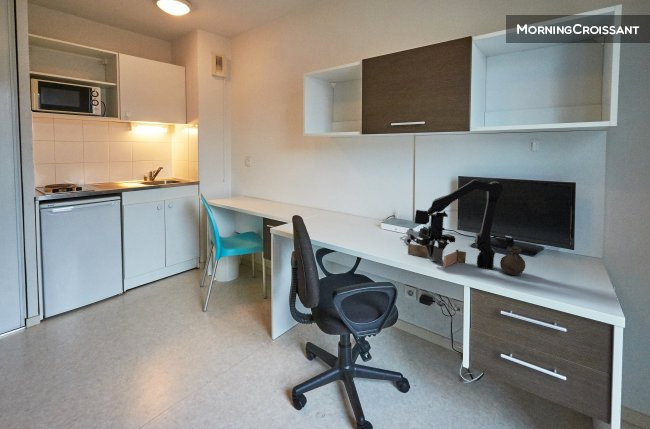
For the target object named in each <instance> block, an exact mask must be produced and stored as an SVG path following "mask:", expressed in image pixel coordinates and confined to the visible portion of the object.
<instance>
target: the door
mask: <svg viewBox="0 0 650 429" xmlns="http://www.w3.org/2000/svg"><path fill="white" fill-rule="evenodd" d="M443 256H444V257H443V267H444V268H446V267H449V266H450V265H451V266H452V265H454V264H455V263H458V262H457V252H456V251H453V252H451V253H448V254H446V255H443Z"/></svg>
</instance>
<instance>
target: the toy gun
mask: <svg viewBox="0 0 650 429" xmlns="http://www.w3.org/2000/svg"><path fill="white" fill-rule="evenodd" d="M405 234H406V235H407V236H405V238H404V239H403V243H404V244H405V245H406V246H408V244H411V242H412V241H413V243H416V245H421V244H419V243H417V242H416V238H417V237H420V236H423V235H420V231H417V230H414V229H413V228H408V229H407V230H406V232H405ZM425 237H427V236H425ZM427 238H430V237H427ZM433 240H435V239H433ZM432 244H433V245H434V246H436V241H434V242H432ZM422 246H426V245H422Z"/></svg>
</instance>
